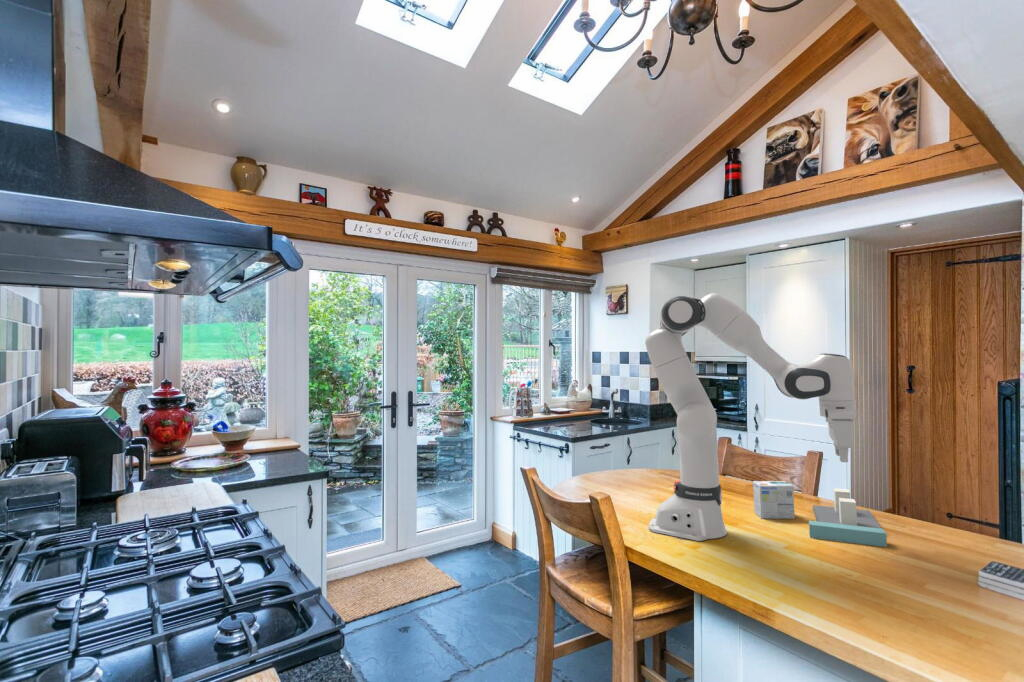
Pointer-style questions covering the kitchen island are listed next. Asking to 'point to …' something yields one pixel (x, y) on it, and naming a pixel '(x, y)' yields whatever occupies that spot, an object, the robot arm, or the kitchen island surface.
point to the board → (835, 519)
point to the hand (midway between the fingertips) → (841, 458)
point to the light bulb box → (773, 499)
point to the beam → (847, 533)
